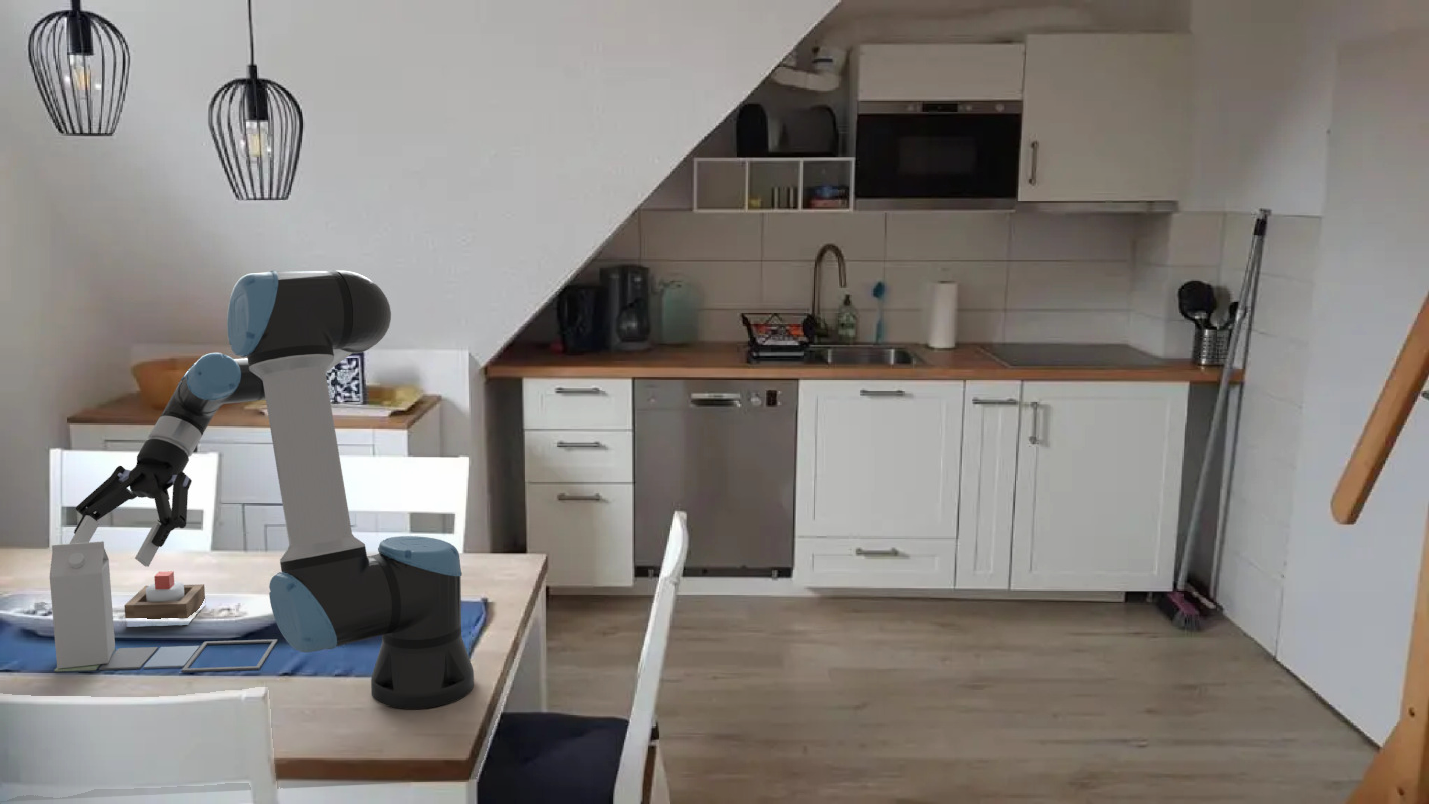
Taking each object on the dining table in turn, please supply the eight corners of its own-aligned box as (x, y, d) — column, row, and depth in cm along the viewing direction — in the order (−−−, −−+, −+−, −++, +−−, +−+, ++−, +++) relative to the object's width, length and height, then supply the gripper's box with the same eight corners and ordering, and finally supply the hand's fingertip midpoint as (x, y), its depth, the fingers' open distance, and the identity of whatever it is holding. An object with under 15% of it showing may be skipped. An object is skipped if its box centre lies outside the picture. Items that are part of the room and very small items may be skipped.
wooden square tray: (187, 625, 192) (186, 603, 192) (125, 627, 191) (124, 605, 190) (205, 605, 202) (204, 584, 201) (146, 606, 201) (145, 585, 200)
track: (259, 669, 175) (259, 667, 175) (49, 676, 171) (49, 674, 171) (277, 641, 187) (277, 639, 187) (81, 646, 182) (80, 645, 182)
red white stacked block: (178, 614, 194) (176, 578, 193) (142, 615, 193) (139, 579, 192) (189, 602, 200) (187, 567, 199) (154, 603, 199) (152, 568, 198)
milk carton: (65, 652, 179) (56, 538, 176) (115, 647, 182) (107, 535, 179) (57, 669, 173) (47, 552, 170) (108, 664, 175) (99, 548, 172)
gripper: (241, 466, 192) (184, 576, 180) (121, 455, 198) (59, 561, 186) (218, 442, 186) (157, 554, 174) (95, 431, 192) (29, 539, 180)
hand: (106, 558), depth 180 cm, fingers open, 13 cm apart
